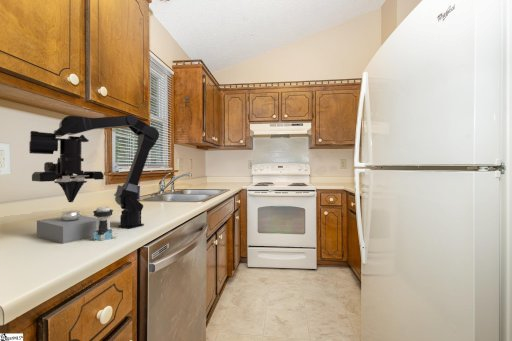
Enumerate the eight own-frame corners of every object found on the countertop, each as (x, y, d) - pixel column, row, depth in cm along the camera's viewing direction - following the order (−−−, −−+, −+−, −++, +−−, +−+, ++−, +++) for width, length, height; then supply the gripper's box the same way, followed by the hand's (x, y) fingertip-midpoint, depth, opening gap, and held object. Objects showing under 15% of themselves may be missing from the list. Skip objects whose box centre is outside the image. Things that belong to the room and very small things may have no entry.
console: (76, 228, 93) (76, 214, 93) (103, 234, 85) (103, 219, 85) (36, 235, 82) (36, 220, 82) (63, 243, 75) (63, 226, 75)
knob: (74, 231, 87) (74, 210, 87) (82, 233, 85) (82, 211, 85) (58, 235, 83) (58, 212, 83) (66, 237, 80) (66, 213, 80)
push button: (118, 235, 84) (118, 205, 84) (116, 240, 79) (116, 208, 79) (94, 237, 81) (94, 206, 81) (91, 242, 76) (91, 209, 76)
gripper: (86, 156, 95) (86, 197, 96) (23, 153, 79) (23, 203, 79) (104, 156, 90) (104, 199, 90) (41, 153, 74) (41, 206, 74)
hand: (70, 202), depth 84 cm, fingers closed
